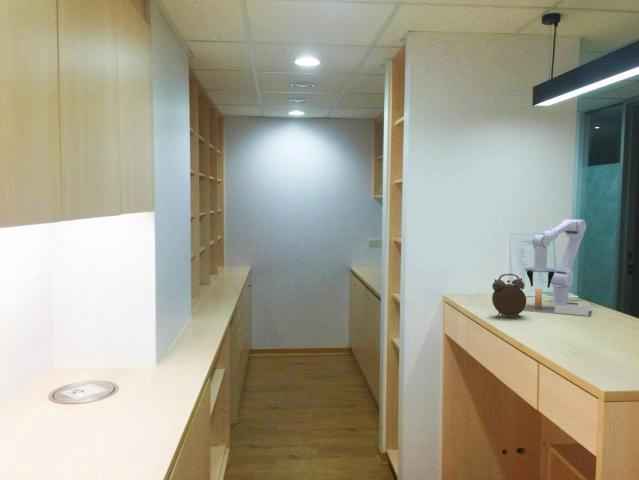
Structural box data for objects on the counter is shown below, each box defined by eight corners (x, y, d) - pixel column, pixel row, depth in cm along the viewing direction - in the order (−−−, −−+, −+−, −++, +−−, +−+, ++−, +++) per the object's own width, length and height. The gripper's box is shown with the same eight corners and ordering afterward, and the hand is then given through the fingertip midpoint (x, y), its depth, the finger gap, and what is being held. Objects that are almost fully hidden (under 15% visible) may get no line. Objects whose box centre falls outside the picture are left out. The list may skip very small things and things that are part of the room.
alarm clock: (522, 315, 246) (522, 272, 244) (526, 318, 239) (527, 275, 237) (490, 315, 247) (490, 272, 245) (493, 318, 240) (494, 275, 238)
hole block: (557, 308, 257) (557, 300, 257) (589, 310, 250) (590, 302, 250) (554, 313, 247) (554, 304, 246) (588, 316, 240) (588, 307, 239)
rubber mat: (525, 305, 266) (525, 304, 265) (592, 311, 250) (592, 310, 250) (520, 311, 253) (520, 310, 253) (590, 317, 238) (590, 316, 238)
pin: (535, 308, 258) (535, 288, 257) (541, 308, 256) (542, 289, 256) (534, 309, 255) (534, 289, 255) (541, 309, 254) (541, 290, 253)
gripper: (523, 259, 259) (523, 286, 260) (555, 260, 252) (555, 289, 253) (526, 257, 265) (525, 284, 266) (557, 259, 258) (556, 286, 259)
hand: (540, 286), depth 260 cm, fingers open, 7 cm apart
